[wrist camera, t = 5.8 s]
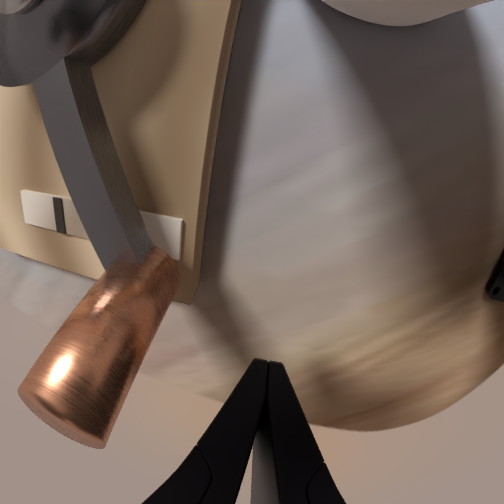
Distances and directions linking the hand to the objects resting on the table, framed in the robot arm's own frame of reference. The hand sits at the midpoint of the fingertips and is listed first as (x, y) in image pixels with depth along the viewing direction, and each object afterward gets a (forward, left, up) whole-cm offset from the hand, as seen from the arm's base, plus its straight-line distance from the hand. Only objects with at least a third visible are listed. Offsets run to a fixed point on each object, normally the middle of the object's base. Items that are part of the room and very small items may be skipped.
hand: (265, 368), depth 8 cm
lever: (+7, -7, -3) cm, 10 cm away
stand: (+10, -7, -5) cm, 13 cm away
